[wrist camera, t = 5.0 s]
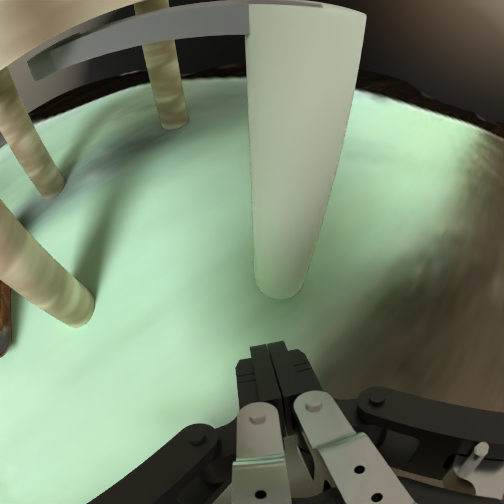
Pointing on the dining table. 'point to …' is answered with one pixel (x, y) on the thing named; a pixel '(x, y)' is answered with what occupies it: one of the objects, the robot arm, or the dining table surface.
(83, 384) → the dining table surface
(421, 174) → the dining table surface
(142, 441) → the dining table surface
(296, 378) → the robot arm
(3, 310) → the tin
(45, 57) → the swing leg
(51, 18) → the stool
